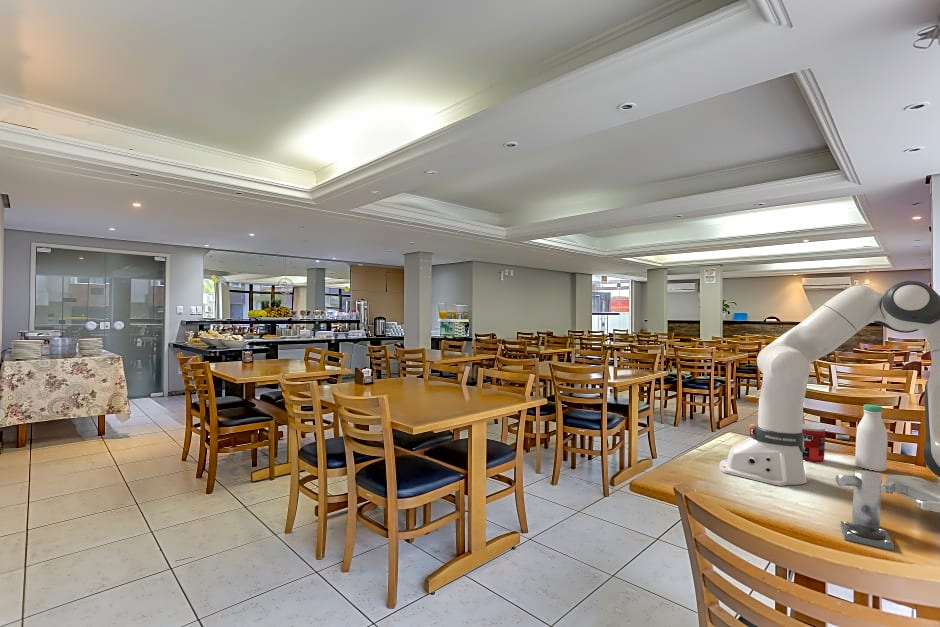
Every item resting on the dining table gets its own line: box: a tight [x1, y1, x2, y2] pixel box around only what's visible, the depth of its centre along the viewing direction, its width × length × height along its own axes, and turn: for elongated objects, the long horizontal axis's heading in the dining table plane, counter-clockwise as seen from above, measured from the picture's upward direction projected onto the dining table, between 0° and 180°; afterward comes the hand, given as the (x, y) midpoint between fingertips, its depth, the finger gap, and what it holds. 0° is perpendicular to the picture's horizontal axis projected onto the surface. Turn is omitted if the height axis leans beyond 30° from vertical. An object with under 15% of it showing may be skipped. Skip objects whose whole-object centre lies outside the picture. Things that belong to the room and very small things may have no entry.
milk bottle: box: [854, 403, 889, 472], centre depth 153 cm, size 8×8×20 cm
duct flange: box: [840, 520, 895, 551], centre depth 105 cm, size 8×8×2 cm
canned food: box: [802, 423, 826, 463], centre depth 161 cm, size 8×8×11 cm
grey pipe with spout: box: [835, 469, 883, 529], centre depth 111 cm, size 9×5×12 cm, turn 90°
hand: (900, 496), depth 111 cm, fingers open, 8 cm apart
